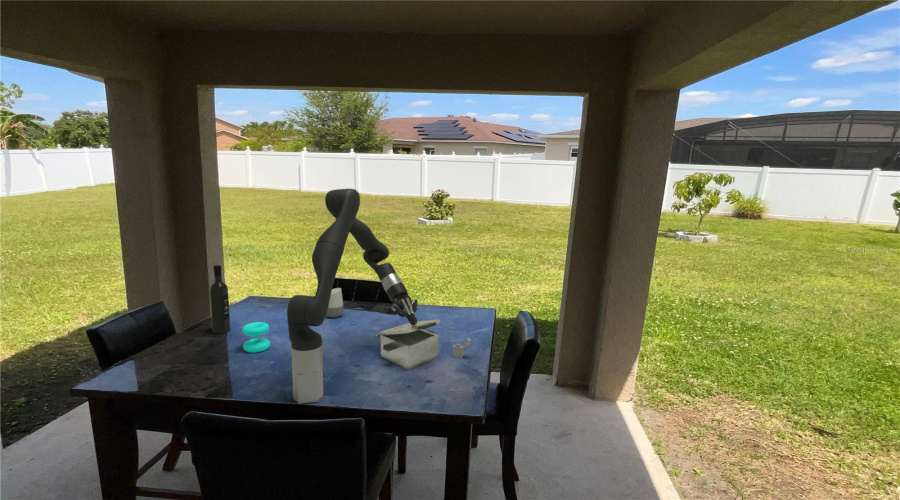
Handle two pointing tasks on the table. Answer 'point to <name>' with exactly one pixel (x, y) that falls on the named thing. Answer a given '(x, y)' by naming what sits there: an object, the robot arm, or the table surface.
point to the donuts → (256, 343)
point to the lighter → (460, 349)
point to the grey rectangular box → (409, 347)
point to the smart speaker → (335, 304)
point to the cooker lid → (410, 327)
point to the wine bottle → (219, 303)
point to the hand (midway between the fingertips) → (414, 324)
